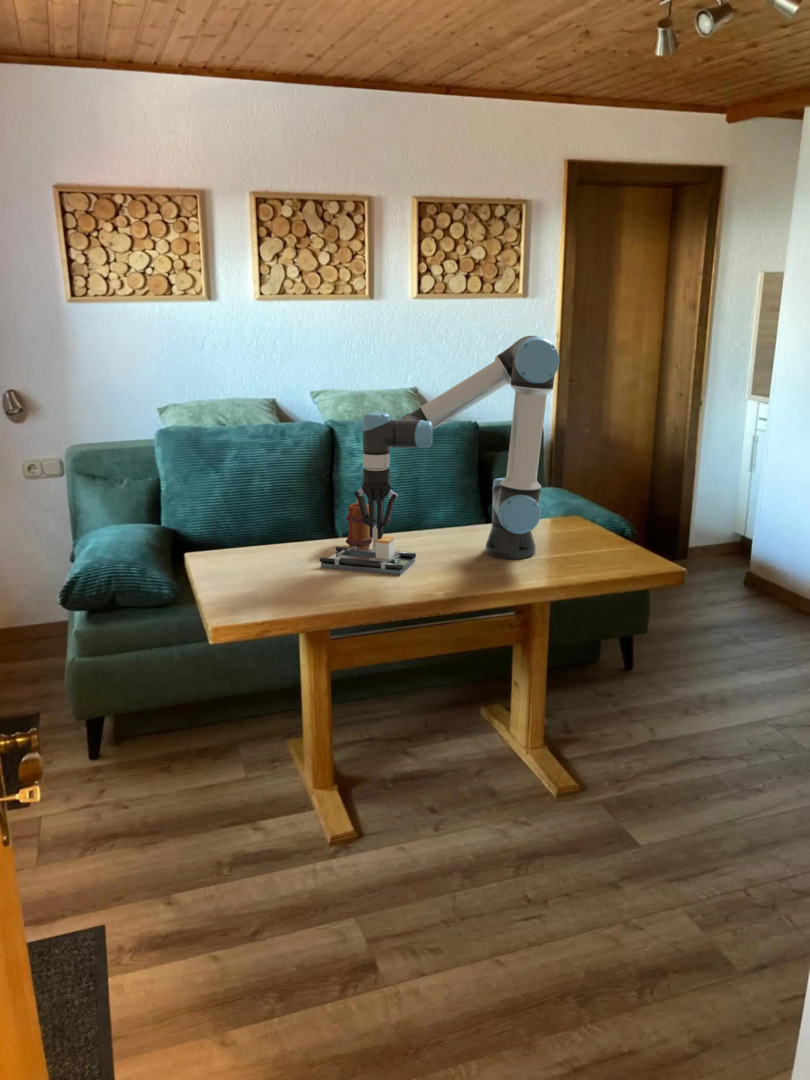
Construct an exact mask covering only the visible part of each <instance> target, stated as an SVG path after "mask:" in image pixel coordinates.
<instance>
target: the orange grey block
mask: <svg viewBox="0 0 810 1080" xmlns="http://www.w3.org/2000/svg"><path fill="white" fill-rule="evenodd" d="M375 543H376V558H377V559H389V560H391V561H392V559H393V558H394V557H395V554H394V551H395V536H387V535H383V537H382V538H378V539H376V540H375Z"/></svg>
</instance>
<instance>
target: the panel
mask: <svg viewBox="0 0 810 1080" xmlns="http://www.w3.org/2000/svg"><path fill="white" fill-rule="evenodd" d="M335 551H336V552H335V553H333V554H331V555H330V556H329V557H321V556H320V557H319V563H320V568H321V569H326V570H337V571H338V570H339V571H345V572H347V571H348V572H356V573H358V572H359V573H366V574H367V573H369V574H370V573H371V574H376V575H377V574H378V575H379V574H380V575H387V576H388V575H390V576H397V577H398V576H399V577H400V576H402V574H403V573H405V572H406V570H408V569H409V568H410V567H411V566H412V565H413V564H414V563H415V562H416V558H417V553H416V552H404V551H401V550H400V549H397V550H394V554H395V557H394V558H393V559H392V561H391V560H389V559H377V558H376V550H374V549H370V548H369V549H360V548H356V547H355V546H352V547H351V548H349V547H348V546H347V547H345V546H336V547H335Z"/></svg>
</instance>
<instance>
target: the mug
mask: <svg viewBox="0 0 810 1080" xmlns="http://www.w3.org/2000/svg"><path fill="white" fill-rule="evenodd" d="M355 498H356V497H355ZM366 506H367V510H368V514H369V504H367V503H366ZM345 520H346V521H348V535H347V536H346V540H345V543H346V544H347V545H349V547H348V548H351V547H352V546H355V547H356V548H360V549H370V547H371V544H373V537H370V527H369V525H367V524H364V523H363V520H362V516H361V511H360V507H359V503H358V499H357V498H356V499H355V503H351V504H349V505H348V512H347V514H346V517H345Z"/></svg>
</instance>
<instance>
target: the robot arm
mask: <svg viewBox="0 0 810 1080" xmlns="http://www.w3.org/2000/svg"><path fill="white" fill-rule="evenodd" d="M559 367H560V355H559V352H558V348H557V347H556V345H555V344H554V343H553V342H551V340H549V339H547V338H545V337H542V336H537V335H527V336H524V337H521V338H519V339H518V340H516V341H514V343H512V344H511V345H510V346H509V347H508V348H506V349H505V350H503V351H502V352H500V353H499V354H498V355H496V356H495V358H494V361H493V362H491V363H490V364H488V365H486V366H484V367H483V368H481V369H480V370H478V371H476V372H475V373H474V374H471V376H468V377H467V378H465V379H463V380H462V381H460V382H459V383H457V384H455V385H454V386H452V387H450V388H449V389H447V390H446V391H444V392H443V393H441V394H440V395H438V396H436V397H434V398H433V399H431V400H430V401H427V403H425V404H423V405H422V406H420V407H419V408H417V409H415V410H414V411H412V412H410V413H407V414H404V415H403V416H402V417H401V419H400V420H394V419H391V416H390V414H389V413H388V412H380V411H374V412H373V411H372V412H367V413H365V414H364V416H363V419H362V467H363V470H362V482H363V483H362V485H361V488H360V489H358V490H356V491H354V493H353V494H354V496H355V498H357V499H358V503H359V507H360V511H361V516H362V520H363V523H364V524H367V525H369V527H370V537H373V538H372V550H376V543H375V540H376V539H378V538H382V537H383V536H384V527H387V526H388V525H389V524H390V523H391V522H390V521H391V518H392V515H393V511H394V507H395V502H396V500H397V499H398V498H399V495H400V494H399V493H398V492H395V491H393V490H392V487H391V484H390V480H391V479H390V478H391V477H390V473H391V471H390V468H389V467H390V465H391V464H390V462H391V461H390V459H391V458H390V457H391V454H390V452H391V451H390V450H391V448H411V449H412V448H414V449H422V448H430V447H432V445H433V438H434V437H433V434H434V433H433V430H435V429H436V428H438V427H439V426H441V425H443V424H444V423H446V422H448V421H450V420H451V419H453V418H455V417H456V416H458V415H459V414H461V413H462V412H464V411H465V410H466V411H467V410H468V409H469V408H471V407H472V406H474V405H476V404H477V403H479V402H481V401H482V400H485V399H486V398H488V397H489V396H491V395H492V394H495V392H496V391H499V390H500V389H501V390H502V389H503V388H504V387H505V386H507V385H510V387H511V388H512V389H513V390H514V393H515V394H514V402H513V411H512V420H511V428H510V430H511V431H510V439H509V447H508V448H509V449H508V459H507V467H506V475H505V477H499V478H495V479H493V482H492V488H491V490H492V507H491V511H492V512H491V517H492V518H491V528H490V532H489V534H488V537H487V540H486V542H485V553H486V554H487V555H489V556H491V557H494V558H498V559H500V558H501V559H509V560H511V559H512V560H516V559H526V558H530V557H532V556H535V555H536V543H535V540H534V536H533V532H532V530H534V529H535V528H536V527H537V526H538V524H539V522H540V521H541V516H542V510H541V505H540V501H541V492H542V484H540V482H539V481H538V480H537V479H538V472H539V463H540V462H539V461H540V454H541V447H542V446H541V445H542V436H543V430H544V420H545V412H546V405H547V396H548V394H549V393H551V392H552V391H553V390H554V384H555V375H556V373H557V372H558V370H559ZM365 496H366V498H367V502H366V498H365ZM387 497H388V498H389V499H388V502H387V506H386V511H385V499H386V498H387ZM367 503H368V505H369V514H368V510H367V506H366V504H367ZM384 513H385V514H384Z"/></svg>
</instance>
